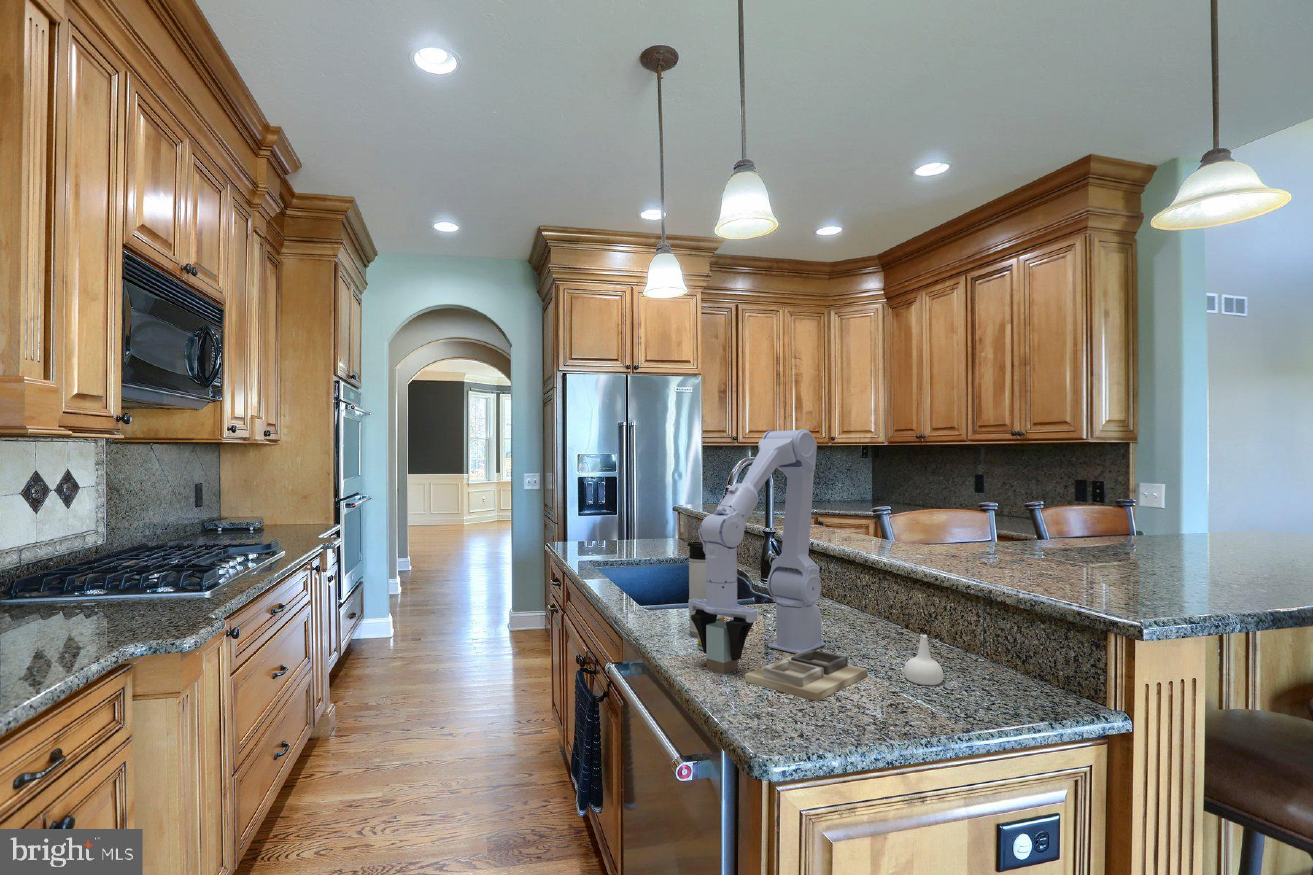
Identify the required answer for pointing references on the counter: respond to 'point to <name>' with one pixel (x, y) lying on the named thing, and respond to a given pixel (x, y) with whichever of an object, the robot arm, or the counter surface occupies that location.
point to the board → (808, 674)
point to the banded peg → (719, 649)
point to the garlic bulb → (923, 666)
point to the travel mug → (696, 579)
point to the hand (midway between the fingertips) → (722, 655)
